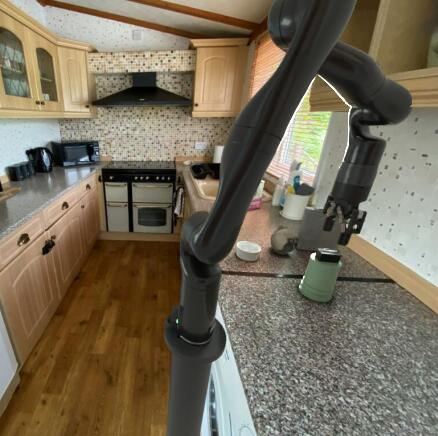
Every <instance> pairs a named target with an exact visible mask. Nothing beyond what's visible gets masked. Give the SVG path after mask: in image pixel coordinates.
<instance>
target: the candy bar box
mask: <svg viewBox="0 0 438 436" xmlns="http://www.w3.org/2000/svg"><path fill="white" fill-rule="evenodd" d="M265 183H266V181H264V180H262V181H261V183H260V185H259V187H258V189H257V191H256V194H255V196H254V198H253V200H252V202H251V204H250V206H249V209H248V211H251V210H259V209H260V208H261V205H262V199H263V194H264V190H265V189H264V188H265Z"/></svg>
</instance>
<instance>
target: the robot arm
mask: <svg viewBox="0 0 438 436" xmlns="http://www.w3.org/2000/svg"><path fill="white" fill-rule="evenodd" d="M357 1H358V0H274V1H273V2H272V4H271V6H270V8H269V12H268V16H267V32H268V36H269V38H270V40H271V41H272V44H273V45H274V46H276V47H277V48H278V49H279V50H281V51H282V52H283V53H285V54H284V56H283V57H282V60H281V61H280V63H279V65H278V67H277V68H276V69H275V71H274V72H273V73H272V75H270V77H269V78H268V80H267V81H266V82H265V83H264V84H263V85H262V86H261V87H260V88H259V89H258V90H257V91H256V93H255V94H254V95H253V96H252V97H251V98H250V99H249V100H248V101H247V102H246V103H245V105H244V107H243V108H242V109H241V110H240V111H239V113H238V114H237V116H236V118H235V120H234V122H233V124H232V127H231V128H230V131H229V134H228V136H227V137H226V140H225V143H224V146H223V148H222V151H221V158H220V163H219V164H220V165H219V177H218V178H219V179H218V188H217V194H216V197H215V200H214V202H213V205H212V207H211V209H210V211H208V210H197V211H194V212H193V213H191V214H189V215H188V216H187V217H186V218H185V220H184V222H183V224H182V227H181V231H180V232H181V233H180V244H179V245H180V246H179V264H180V268H181V275H180V276H181V279H180V291H179V301H178V306H177V305H172V306H171V314H170V315H168V316H167V317H166V320H167V322H168V323H169V324H170V329H176V330H177V335H176V337H177V338H181V339H182V340H183V341H184V342H186V343H187V344H190V345H193V346H203V345H206V344H208V343H209V342H210V341H211V340H212V337H213V329H214V326H215V325H216V322H215V318H216V314H217V310H218V302H219V296H220V290H221V284H222V276H223V272H222V271H223V270H222V268H221V264H220V263H221V262H222V261H224V260H225V259H226V258H228V256H229V254H231V252H232V251H233V249H234V247H235V246H236V245H235V244H236V242H237V241H238V238H239V235H240V233H241V229H242V227H243V224H244V221H245V219H246V216H247V213H248V211H249V210H248V209H249V206H250V204H251V202H252V200H253V198H254V196H255V194H256V191H257V189H258V187H259V185H260V183H261V181H263V179H264V177H265V174H266V173H267V170H268V169H269V167H270V165H271V163H272V161H273V159H274V158H275V156H276V154H277V152H278V150H279V148H280V146H281V144H282V142H283V140H284V138H285V136H286V133H287V132H288V129H289V127H290V125H291V123H292V121H293V119H294V117H295V115H296V112H297V111H298V109H299V108H300V105H301V103H302V102H303V100H304V98H305V96H306V95H307V93H308V91H309V89H310V88H311V85H312V84H313V82H314V81H315V78H317V76H318V77H320V78H321V79H322V80H323V81H324V82H326V83H327V84H328V85H329V86H330V87H331V88H332V90H334V91H335V93H336V94H337V95H338V96H339V98H341V99H342V101H343V102H344V103H345V104H346V105H348V106H349V107H350V108H349V111H348V118H347V119H348V120H347V121H348V122H347V123H348V126H347V127H348V133H347V146H346V149H345V152H344V157H343V159H342V162H341V164H340V165H339V167H338V170H337V173H336V177H335V180H334V183H333V185H332V189H331V192H330V194H328V195H327V198H326V201H325V203H324V206H323V207H324V209H323V214H325V218H326V219H325V222H324V225H323V228H322V230H323V231H328V232H330V231H332V228H333V225H334V222H335V220H334V219H336V218H337V217H338V218H339V223H340V224H341V227H342V231H341V232H340V235H339V238H338V241H337V244H338V246H342V247H343V246H344V247H345V246H348V245H349V243H350V240H351V238H352V235H353V234H354V235H360V234H361V232H362V230H363V227H364V223H365V221H366V218H367V215H368V211H367V210H361V209H360V205H361V203H365V202H366V201H367V200H368V198H369V196H370V193H371V191H372V188H373V186H374V183H375V180H376V178H377V175H378V171H379V166H380V163H381V162H382V159H383V157H384V153H385V151H386V148H387V145H388V144H387V143H388V142H387V140H386V139H385V138H382V137H378V136H375V135H374V134H372V132H371V127H393V126H394V127H395V126H397V125H399V124H401V123H403V122H405V120H407V119H408V118H409V116H410V115H411V114H412V112H413V110H414V107H410V106H411V105H412V97H411V94H412V93H411V94H410V92H411V91H410V90H409V89H408V88H407V87H406V86H403V85H402V84H400V83H398V82H397V81H396V80H393V79H391V78H389V77H388V76H386V75H385V72H383V70H382V69H381V67H380V66H379V63H377V61H376V60H375V59H374V58H373V57H372V56H371V55H370V54H368V53H367V52H364V50H361V49H359V48H357V47H355V46H353V45H351V44H349V43H346V42H344V41H342V40H341V39H340V38H341V36H342V34H343V32H344V31H345V29H346V27H347V25H348V23H349V22H350V19H351V18H352V16H353V13H354V11H355V7H356V4H357ZM328 207H330V208H329V209H328ZM327 209H328V210H327ZM214 322H215V324H214Z"/></svg>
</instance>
